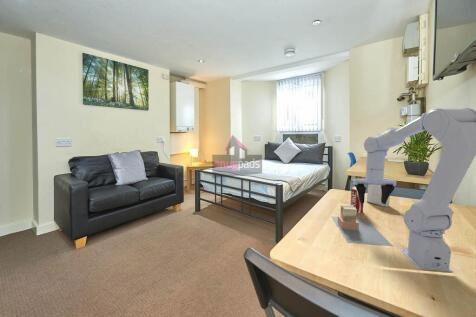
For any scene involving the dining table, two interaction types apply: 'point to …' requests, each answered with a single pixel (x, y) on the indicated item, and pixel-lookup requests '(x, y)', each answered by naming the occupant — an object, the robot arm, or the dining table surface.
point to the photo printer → (376, 195)
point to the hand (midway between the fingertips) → (372, 202)
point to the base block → (348, 224)
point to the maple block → (348, 213)
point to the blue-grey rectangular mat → (363, 233)
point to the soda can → (356, 200)
